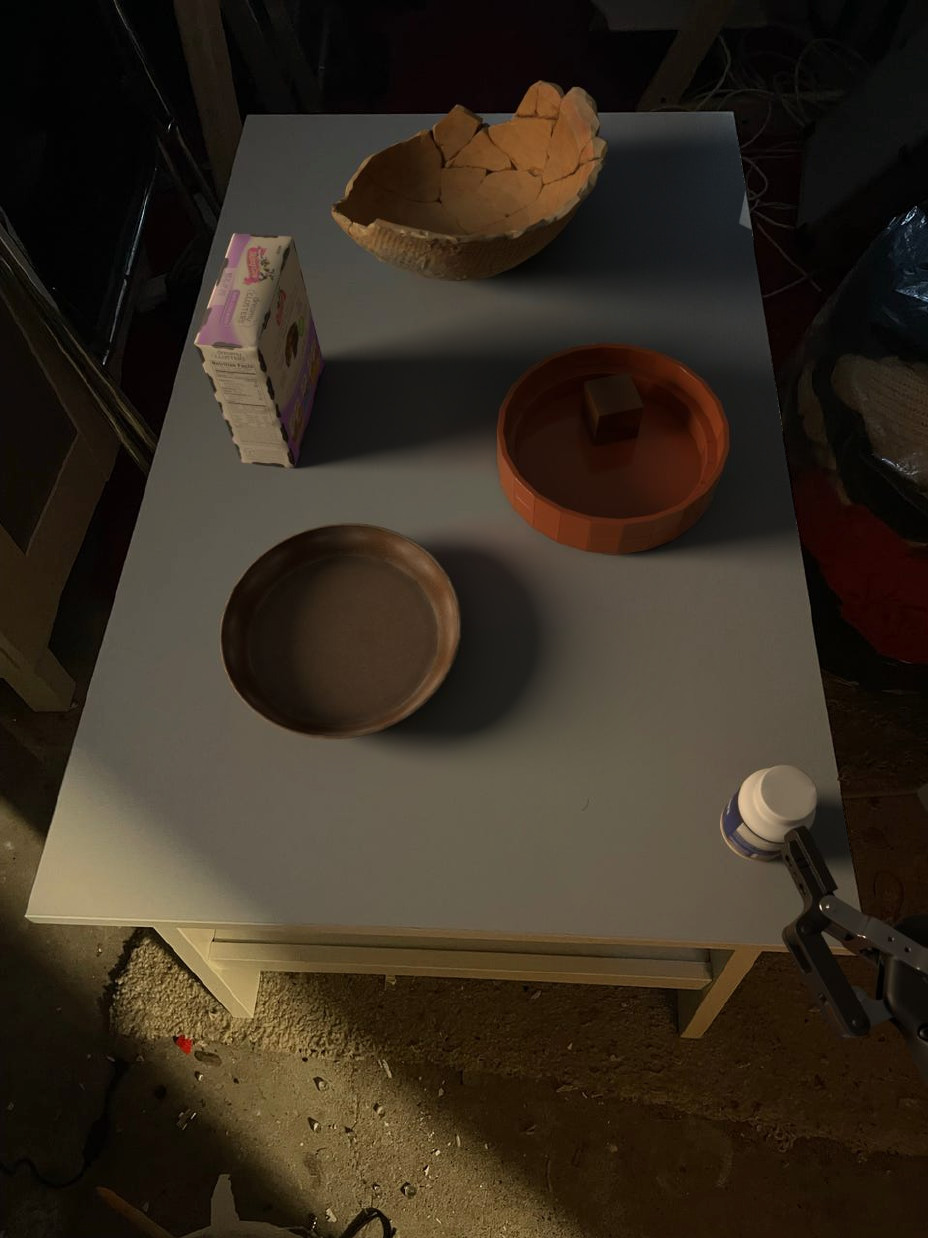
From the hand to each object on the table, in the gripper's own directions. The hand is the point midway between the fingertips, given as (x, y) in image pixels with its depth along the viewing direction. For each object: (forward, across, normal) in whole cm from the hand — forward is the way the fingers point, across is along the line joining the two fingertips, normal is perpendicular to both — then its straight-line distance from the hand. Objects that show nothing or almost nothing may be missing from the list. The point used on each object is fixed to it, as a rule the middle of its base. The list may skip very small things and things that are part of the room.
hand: (861, 807), depth 50 cm
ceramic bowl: (+76, -1, +20) cm, 78 cm away
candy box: (+58, +25, +20) cm, 66 cm away
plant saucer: (+30, +25, +20) cm, 44 cm away
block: (+45, -5, +19) cm, 49 cm away
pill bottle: (+4, -1, +20) cm, 21 cm away
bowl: (+41, -4, +20) cm, 46 cm away
